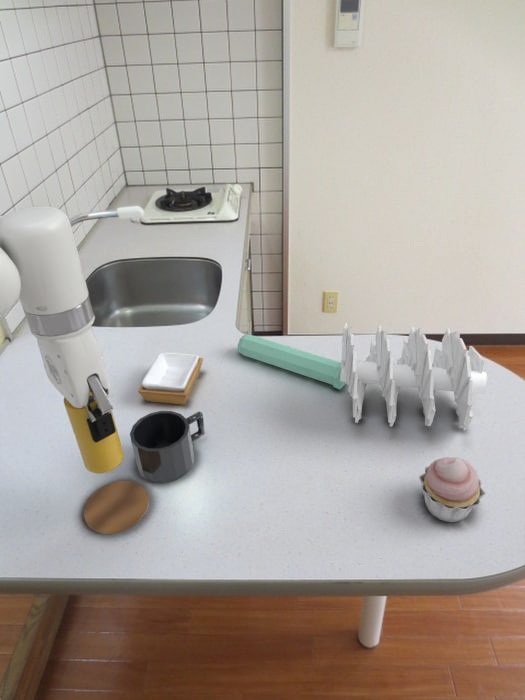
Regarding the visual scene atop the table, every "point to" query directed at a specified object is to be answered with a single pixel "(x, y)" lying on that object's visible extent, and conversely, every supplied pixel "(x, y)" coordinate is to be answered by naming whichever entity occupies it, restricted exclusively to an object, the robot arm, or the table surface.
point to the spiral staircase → (414, 372)
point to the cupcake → (451, 488)
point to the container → (292, 359)
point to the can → (94, 454)
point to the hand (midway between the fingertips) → (93, 424)
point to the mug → (165, 445)
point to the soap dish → (171, 378)
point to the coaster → (116, 507)
